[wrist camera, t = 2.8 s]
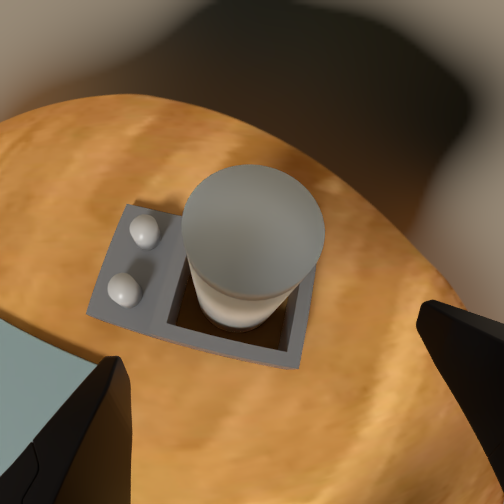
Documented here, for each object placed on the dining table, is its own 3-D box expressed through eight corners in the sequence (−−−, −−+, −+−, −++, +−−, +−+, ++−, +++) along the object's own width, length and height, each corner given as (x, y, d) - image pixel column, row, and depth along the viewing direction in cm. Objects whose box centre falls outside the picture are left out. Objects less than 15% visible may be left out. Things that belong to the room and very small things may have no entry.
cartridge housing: (307, 251, 21) (320, 233, 19) (286, 369, 18) (298, 369, 15) (129, 209, 21) (119, 186, 18) (90, 316, 18) (71, 306, 15)
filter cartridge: (281, 267, 21) (330, 183, 12) (266, 340, 19) (314, 308, 10) (209, 250, 21) (205, 153, 11) (189, 321, 19) (162, 272, 10)
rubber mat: (106, 367, 17) (103, 367, 16) (81, 531, 12) (78, 534, 11) (-27, 301, 17) (-31, 299, 16) (-47, 444, 11) (-51, 445, 11)
